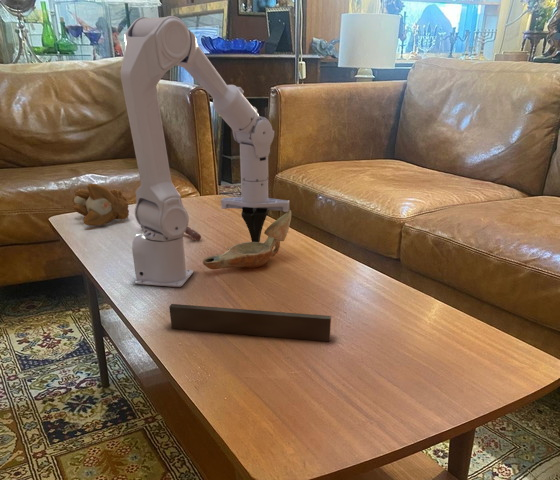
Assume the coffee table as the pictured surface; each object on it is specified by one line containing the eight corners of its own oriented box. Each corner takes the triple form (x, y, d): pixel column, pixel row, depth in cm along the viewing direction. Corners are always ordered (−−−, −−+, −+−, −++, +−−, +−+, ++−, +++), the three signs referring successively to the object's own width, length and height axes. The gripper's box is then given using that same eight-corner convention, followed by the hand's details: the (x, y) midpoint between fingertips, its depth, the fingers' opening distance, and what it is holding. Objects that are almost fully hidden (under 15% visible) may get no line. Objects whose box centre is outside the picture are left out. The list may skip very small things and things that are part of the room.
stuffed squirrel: (82, 224, 135) (65, 222, 145) (136, 228, 144) (116, 226, 154) (81, 182, 132) (64, 182, 142) (136, 188, 141) (116, 188, 151)
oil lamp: (301, 261, 118) (302, 214, 112) (213, 282, 108) (210, 232, 102) (278, 250, 124) (279, 205, 119) (194, 269, 114) (189, 221, 108)
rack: (171, 328, 90) (168, 306, 88) (173, 325, 91) (171, 303, 89) (329, 341, 86) (330, 319, 84) (330, 338, 88) (331, 315, 85)
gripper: (291, 175, 116) (291, 238, 123) (225, 173, 118) (228, 235, 125) (286, 183, 110) (286, 248, 117) (216, 180, 112) (220, 244, 119)
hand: (256, 242), depth 121 cm, fingers closed
